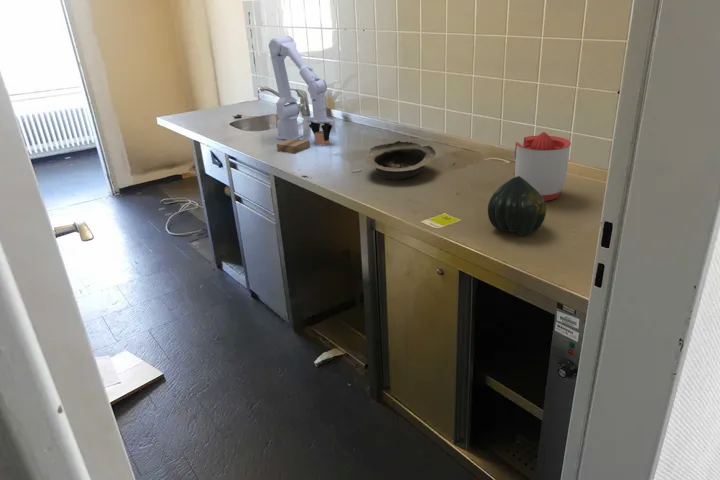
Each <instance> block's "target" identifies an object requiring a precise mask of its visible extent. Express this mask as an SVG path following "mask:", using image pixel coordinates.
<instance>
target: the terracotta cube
mask: <svg viewBox="0 0 720 480" xmlns="http://www.w3.org/2000/svg"><path fill="white" fill-rule="evenodd" d="M314 134H315V136H314V141H315V142H314V143H315V145H320V146H325V145H327V144H330V143H331V142H330V139H329V140H327V141H325V140H324V133H323V130H320V131H318V132H316V133H313V135H314Z"/></svg>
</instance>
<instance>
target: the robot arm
mask: <svg viewBox="0 0 720 480" xmlns="http://www.w3.org/2000/svg"><path fill="white" fill-rule="evenodd" d="M268 49H269V53H270V60H271V64H272V68H273V73H274V74H273V75H274V77H275V78H274V79H275V82H276V88H277V91H278V96H279V99H278V100H277V101H276V104H275V105H276V115H277V118H278V120H277V122H276V129H277V137H276V138H277V139H280V140H284V141H286V140H289V139H291V138H294V139H301V138H303V137H304V135H303V134H300V132H299V125H298V118H299V115H300V112H301V108H300V106H299V103H298V102H297V101H298V100H297V99H296V98H295V97H294V96H293V95H292V92H291V87H290V81H289V76H288V72H287V68H286V64H285V59H286V58H287V57H289V59H290V60H291V61H292V62H293V63H294V65H295V66H296V67H297V69H298V70H299V75H300V77H301V79H302V80H303V82H305V84H306V86H307V92H308V93H309V94H310V95H309V96H310V99H311V105H312V106H311V107H312V114H313V115H312V117H311V116H310V117H306V118H305V121H306V123H307V124H308V123H310V124H308V126H309V128H310V130H311V132H312V134H313V135H314V137H315V134H314V133H316V132H318V131H323V133H324V140H325V141H327V140H330V134H331V131H332V128H333V126H335V125H336V119H333V118H332V119H331V118H328V116H327V106H326V95H325V93H326V91H327V89H328V84H327V83H326V80H325V79H323V78H321V77H319V75H318V74H317V73H316V71H315V70H314V68H313V67H312V66H311V65H308V64H306V62H305V61H304V59H303V58H302V56H301V54H300V53H299V51H298V49H297V43H296V42H295V40H294V39H293V37H292V36H290V35H288V36H284V37H278V38H277V37H276V38H272V39H271V40H270V42H269V43H268ZM320 128H321V129H322V130H320Z"/></svg>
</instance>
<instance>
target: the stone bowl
mask: <svg viewBox="0 0 720 480" xmlns="http://www.w3.org/2000/svg"><path fill="white" fill-rule="evenodd" d="M435 156H436V150H435V149H434V148H433V146H431V145H427V146H426V145H424V146H423V145H420V144H419V143H416V142H411V141H401V140H398V141H397V140H396V141H395V142H392V143H387V144H386V143H384V144H380V145H375V146H373V147H371V148H370V150H369V151H368V154H367V155H365V159H366V164H367V165H369V167H371V168H374V169H375V171H376V172H377V174H378V175H379V176H380V177H382V178H383V179H385V180H393V181H402V180H404V179H408V178H410V177H413V176H415V175H417V174H419V173H420V172H421V171H423V170H424V168H425V167H426V166H427V165H428V164H429V163H430V162H431V161H433V159H434V158H435Z"/></svg>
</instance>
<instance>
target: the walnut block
mask: <svg viewBox="0 0 720 480" xmlns="http://www.w3.org/2000/svg"><path fill="white" fill-rule="evenodd" d="M310 141H311V140H309V139H302V138H297V139H294V138H291V139H289V140H283V141H282V142H277V143H276V149H277V151H278V152H280V151H282V153H287V152H288V154H294V155H296V154H298V153H300V152H303V151H305V150H308V149H309V148H310V149H311V142H310Z"/></svg>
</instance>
